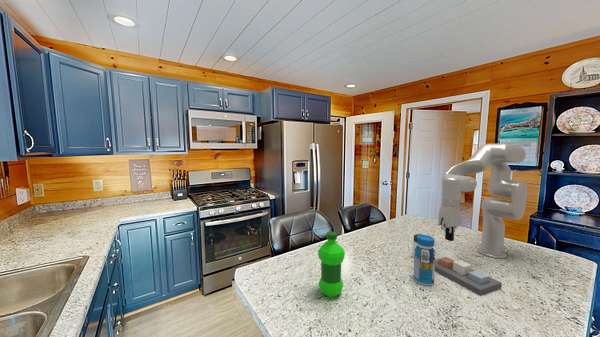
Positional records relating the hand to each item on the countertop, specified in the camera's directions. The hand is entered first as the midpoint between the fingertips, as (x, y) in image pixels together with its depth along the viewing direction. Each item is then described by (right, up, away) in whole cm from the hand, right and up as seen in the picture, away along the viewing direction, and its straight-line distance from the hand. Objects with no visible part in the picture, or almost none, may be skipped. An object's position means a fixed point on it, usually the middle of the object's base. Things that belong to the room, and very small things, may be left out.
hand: (449, 239), depth 111 cm
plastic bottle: (-60, -16, -18) cm, 65 cm away
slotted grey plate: (+2, -15, -5) cm, 16 cm away
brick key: (-1, -14, +1) cm, 14 cm away
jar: (-7, -14, +12) cm, 20 cm away
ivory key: (+2, -13, -6) cm, 14 cm away
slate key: (+4, -15, -12) cm, 20 cm away
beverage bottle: (-17, -16, -9) cm, 25 cm away
